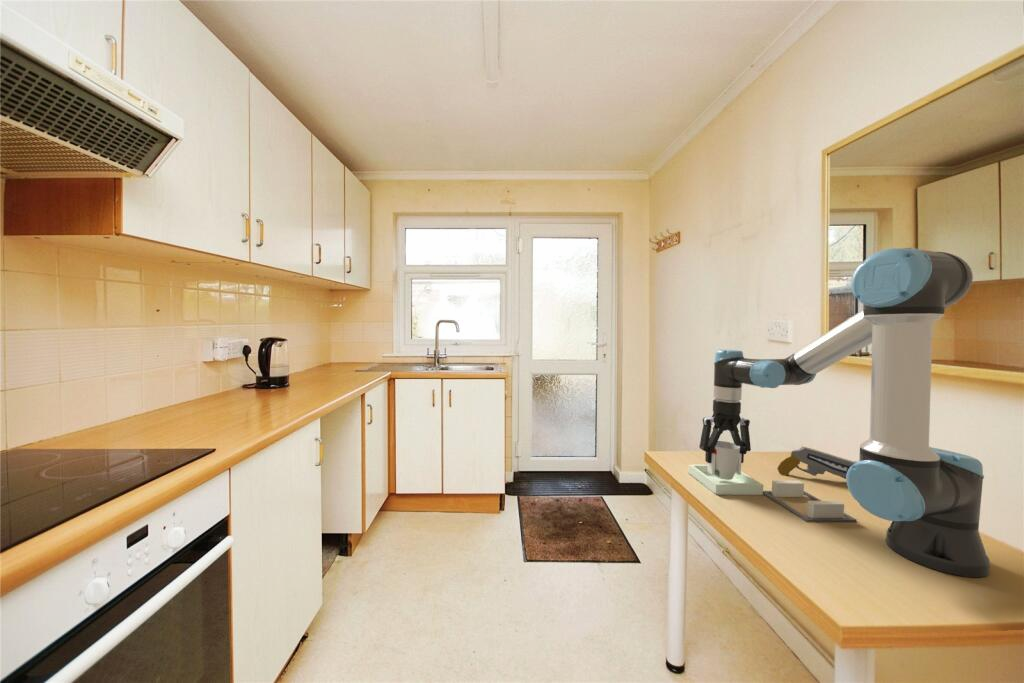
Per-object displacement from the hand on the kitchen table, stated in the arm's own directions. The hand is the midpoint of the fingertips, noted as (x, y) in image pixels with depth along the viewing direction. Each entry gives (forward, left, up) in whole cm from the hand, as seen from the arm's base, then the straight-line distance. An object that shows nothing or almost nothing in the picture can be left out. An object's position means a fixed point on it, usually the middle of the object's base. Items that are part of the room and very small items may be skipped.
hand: (723, 473), depth 121 cm
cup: (0, 0, -1) cm, 1 cm away
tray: (0, 0, -3) cm, 3 cm away
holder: (-15, -14, -3) cm, 21 cm away
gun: (+3, -36, -4) cm, 37 cm away
